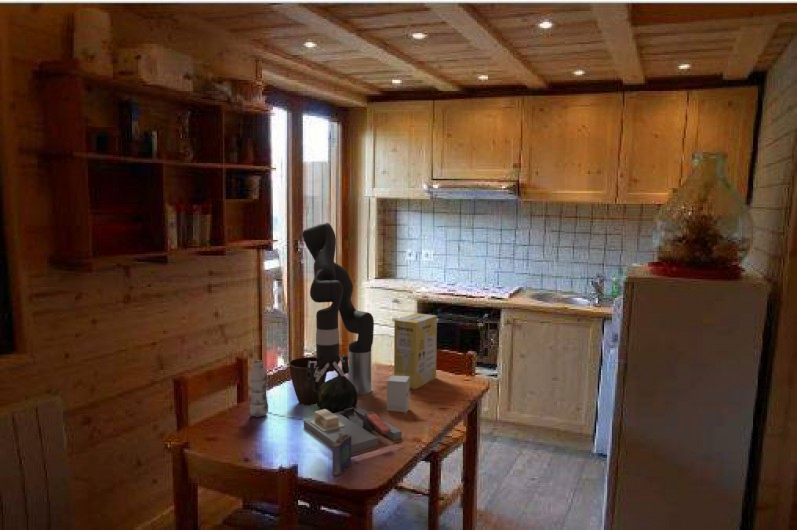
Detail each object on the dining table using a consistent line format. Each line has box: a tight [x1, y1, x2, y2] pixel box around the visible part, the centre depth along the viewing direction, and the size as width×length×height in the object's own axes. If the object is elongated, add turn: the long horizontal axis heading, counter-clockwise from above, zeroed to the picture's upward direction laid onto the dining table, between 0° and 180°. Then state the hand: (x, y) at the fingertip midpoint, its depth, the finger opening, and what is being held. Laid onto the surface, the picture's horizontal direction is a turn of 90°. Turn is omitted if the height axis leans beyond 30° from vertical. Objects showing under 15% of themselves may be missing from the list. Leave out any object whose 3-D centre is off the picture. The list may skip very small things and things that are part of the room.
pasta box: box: [393, 312, 438, 390], centre depth 244 cm, size 18×10×28 cm, turn 148°
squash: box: [315, 375, 358, 413], centre depth 207 cm, size 14×15×15 cm
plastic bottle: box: [248, 359, 269, 418], centre depth 203 cm, size 6×7×20 cm
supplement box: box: [386, 374, 410, 414], centre depth 209 cm, size 7×7×13 cm
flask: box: [331, 433, 352, 477], centre depth 163 cm, size 9×3×11 cm, turn 158°
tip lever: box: [344, 407, 391, 435], centre depth 188 cm, size 23×6×8 cm, turn 35°
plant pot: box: [288, 356, 328, 407], centre depth 217 cm, size 15×15×16 cm
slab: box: [313, 409, 339, 429], centre depth 187 cm, size 9×4×3 cm, turn 36°
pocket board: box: [303, 406, 403, 458], centre depth 186 cm, size 26×22×4 cm
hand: (328, 389), depth 185 cm, fingers open, 8 cm apart
